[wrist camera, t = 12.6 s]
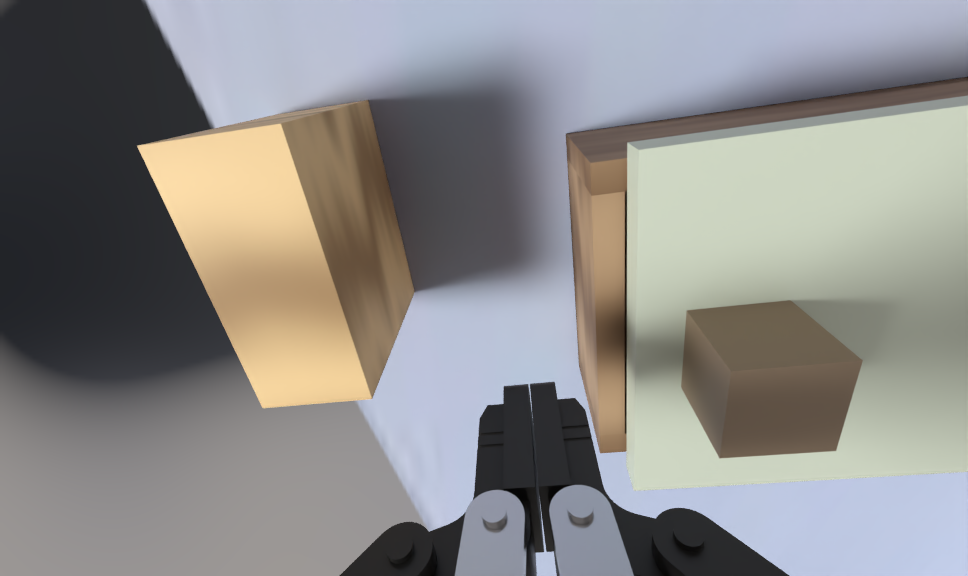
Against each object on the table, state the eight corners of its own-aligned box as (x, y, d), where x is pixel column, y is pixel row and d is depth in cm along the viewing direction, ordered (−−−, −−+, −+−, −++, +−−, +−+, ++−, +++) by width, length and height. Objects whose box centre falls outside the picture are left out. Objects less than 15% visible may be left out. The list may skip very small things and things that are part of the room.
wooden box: (565, 133, 18) (590, 163, 13) (1235, 39, 16) (1602, 27, 11) (579, 365, 24) (600, 452, 18) (1082, 321, 21) (1275, 408, 16)
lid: (627, 142, 12) (678, 176, 9) (1341, 44, 11) (1786, 34, 7) (626, 465, 18) (657, 569, 15) (1090, 436, 17) (1261, 545, 13)
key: (277, 114, 19) (137, 146, 12) (368, 100, 18) (280, 123, 11) (339, 299, 23) (262, 408, 16) (414, 291, 22) (371, 398, 15)
